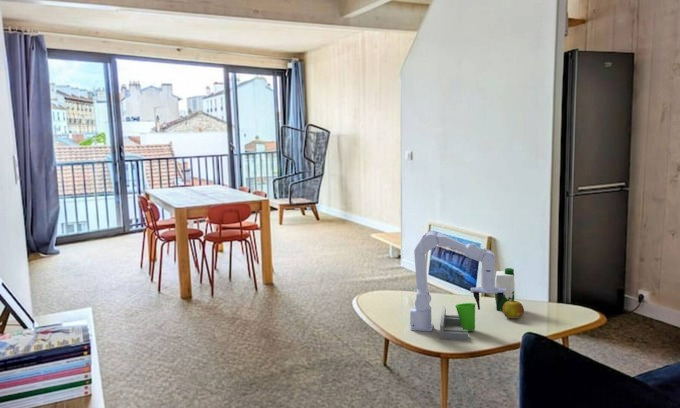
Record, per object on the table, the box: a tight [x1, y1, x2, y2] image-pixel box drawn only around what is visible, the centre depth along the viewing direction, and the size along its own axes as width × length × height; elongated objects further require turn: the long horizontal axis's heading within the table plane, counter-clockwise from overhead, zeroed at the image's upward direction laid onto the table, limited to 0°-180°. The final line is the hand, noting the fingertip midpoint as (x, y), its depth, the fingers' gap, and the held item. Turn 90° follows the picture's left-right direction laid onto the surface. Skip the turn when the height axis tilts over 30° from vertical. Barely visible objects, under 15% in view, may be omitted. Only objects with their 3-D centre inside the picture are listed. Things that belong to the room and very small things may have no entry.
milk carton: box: [494, 267, 515, 312], centre depth 241 cm, size 9×9×20 cm
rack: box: [439, 306, 469, 342], centre depth 218 cm, size 12×21×7 cm, turn 166°
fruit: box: [502, 300, 525, 319], centre depth 230 cm, size 10×9×8 cm
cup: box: [454, 302, 477, 332], centre depth 217 cm, size 9×9×11 cm
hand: (488, 309), depth 214 cm, fingers open, 7 cm apart
